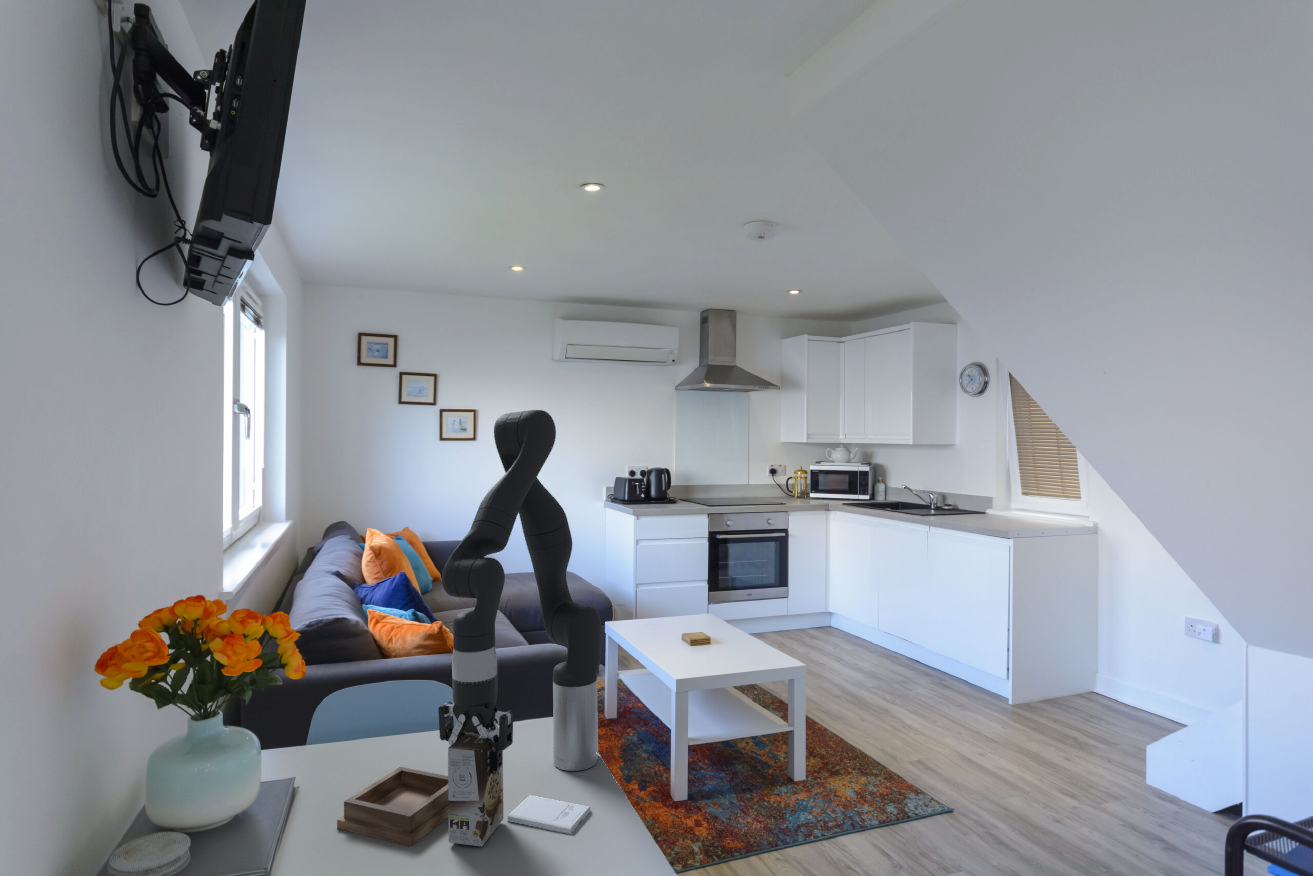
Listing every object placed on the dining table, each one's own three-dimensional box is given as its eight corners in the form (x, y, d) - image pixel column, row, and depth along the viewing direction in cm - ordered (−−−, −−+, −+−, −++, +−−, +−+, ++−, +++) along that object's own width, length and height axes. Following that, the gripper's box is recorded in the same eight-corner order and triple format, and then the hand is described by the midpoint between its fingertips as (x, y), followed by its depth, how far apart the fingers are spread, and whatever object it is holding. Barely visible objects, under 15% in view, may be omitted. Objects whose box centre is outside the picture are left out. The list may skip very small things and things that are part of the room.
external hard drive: (530, 802, 138) (590, 814, 134) (507, 824, 130) (570, 837, 126) (530, 794, 138) (590, 805, 134) (507, 815, 130) (570, 827, 126)
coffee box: (483, 847, 121) (481, 750, 121) (447, 843, 123) (445, 747, 122) (505, 818, 130) (504, 728, 130) (471, 815, 132) (470, 725, 131)
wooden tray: (400, 787, 143) (400, 764, 143) (468, 801, 138) (468, 777, 138) (337, 828, 129) (336, 802, 129) (410, 846, 123) (410, 819, 123)
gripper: (522, 670, 127) (523, 765, 127) (453, 662, 132) (455, 753, 132) (498, 684, 120) (499, 785, 120) (426, 675, 125) (427, 771, 125)
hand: (476, 768), depth 126 cm, fingers closed on coffee box, 7 cm apart
